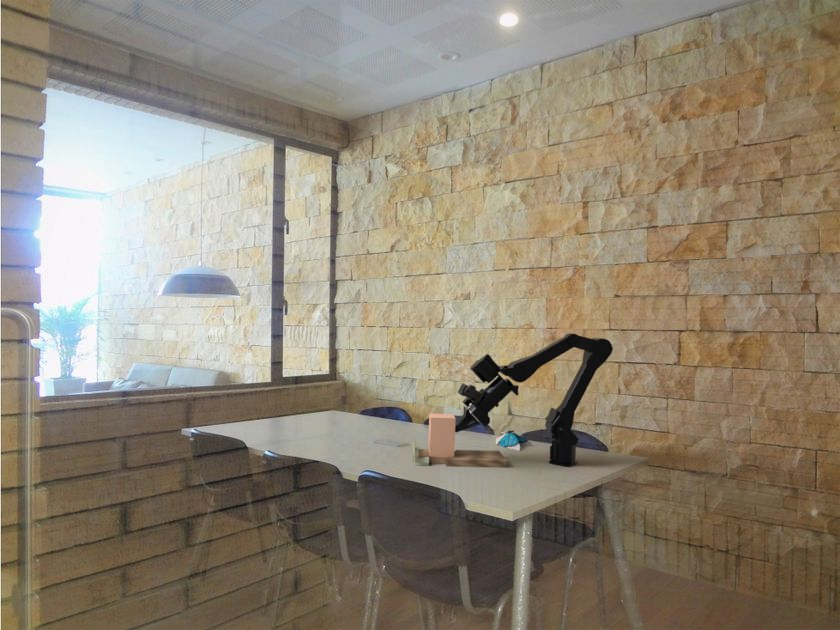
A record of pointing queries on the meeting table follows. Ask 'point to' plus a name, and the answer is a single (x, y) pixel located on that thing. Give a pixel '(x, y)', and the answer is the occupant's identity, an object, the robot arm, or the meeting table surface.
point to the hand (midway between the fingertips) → (454, 431)
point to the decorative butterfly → (512, 440)
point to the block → (441, 435)
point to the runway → (460, 458)
